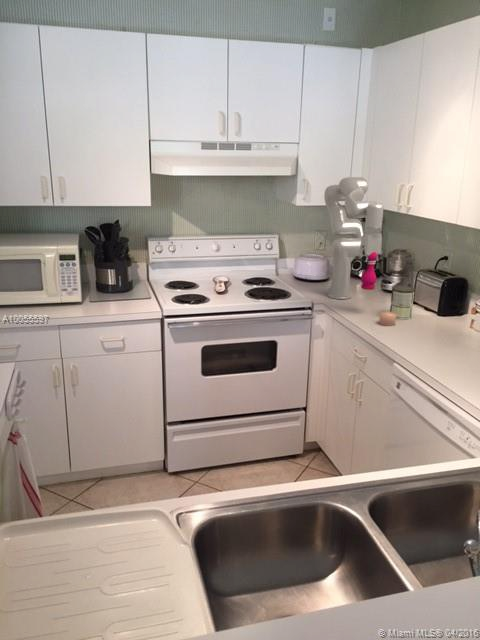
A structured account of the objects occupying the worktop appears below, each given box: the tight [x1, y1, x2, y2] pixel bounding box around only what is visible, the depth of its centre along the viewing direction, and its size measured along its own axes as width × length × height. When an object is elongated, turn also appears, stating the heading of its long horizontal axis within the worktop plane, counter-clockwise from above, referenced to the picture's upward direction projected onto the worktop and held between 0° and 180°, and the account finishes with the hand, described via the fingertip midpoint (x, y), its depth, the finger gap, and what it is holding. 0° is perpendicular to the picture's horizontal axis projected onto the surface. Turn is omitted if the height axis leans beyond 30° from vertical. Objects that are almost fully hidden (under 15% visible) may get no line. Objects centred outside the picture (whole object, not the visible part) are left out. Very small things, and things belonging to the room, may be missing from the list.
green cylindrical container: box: [389, 284, 416, 321], centre depth 251 cm, size 10×10×14 cm
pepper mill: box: [360, 252, 377, 291], centre depth 251 cm, size 7×7×20 cm
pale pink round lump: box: [379, 310, 397, 327], centre depth 242 cm, size 7×7×5 cm
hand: (368, 268), depth 252 cm, fingers closed on pepper mill, 5 cm apart
